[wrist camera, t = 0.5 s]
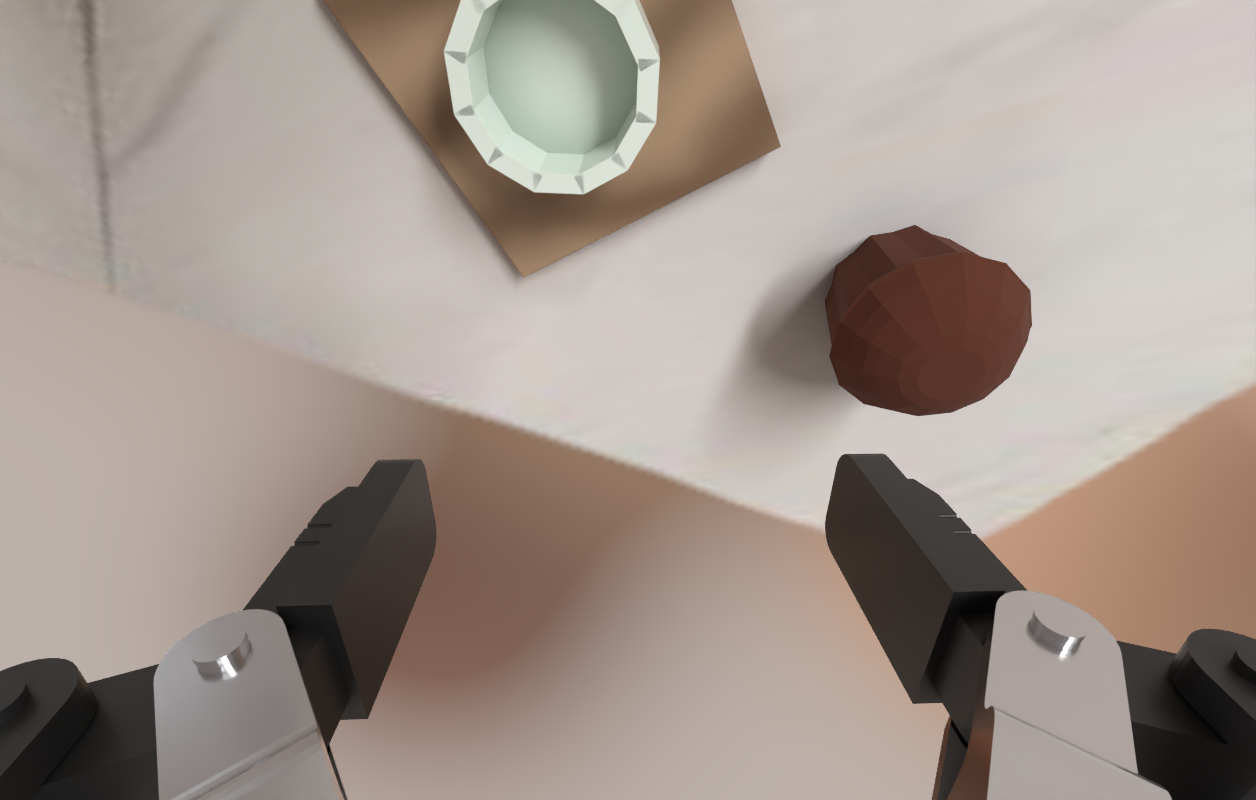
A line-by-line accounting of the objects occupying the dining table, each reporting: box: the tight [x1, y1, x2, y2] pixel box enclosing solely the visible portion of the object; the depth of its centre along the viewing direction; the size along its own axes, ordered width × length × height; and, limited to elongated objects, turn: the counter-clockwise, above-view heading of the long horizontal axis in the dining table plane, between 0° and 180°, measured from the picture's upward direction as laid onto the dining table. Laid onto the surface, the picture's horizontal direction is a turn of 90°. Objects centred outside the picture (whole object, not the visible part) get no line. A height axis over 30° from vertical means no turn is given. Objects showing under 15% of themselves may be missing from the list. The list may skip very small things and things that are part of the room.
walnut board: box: [323, 0, 781, 277], centre depth 30 cm, size 18×18×1 cm
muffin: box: [825, 225, 1032, 416], centre depth 34 cm, size 12×11×10 cm
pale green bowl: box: [444, 0, 660, 194], centre depth 28 cm, size 10×10×4 cm
